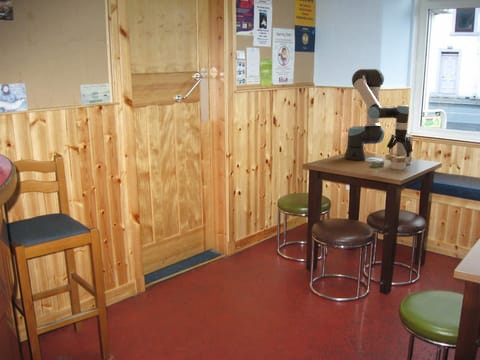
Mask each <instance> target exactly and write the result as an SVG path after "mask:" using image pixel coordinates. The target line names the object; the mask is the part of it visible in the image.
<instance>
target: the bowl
mask: <svg viewBox="0 0 480 360" xmlns="http://www.w3.org/2000/svg"><path fill="white" fill-rule="evenodd" d="M406 166H407V165H406V162H401V163H398V162H394V161H390V166H389V167H390V169H393V170H396V169H397V171H399V170H402V171H403V170H406Z"/></svg>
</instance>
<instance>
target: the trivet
mask: <svg viewBox="0 0 480 360" xmlns="http://www.w3.org/2000/svg"><path fill="white" fill-rule="evenodd" d="M370 167H373V168H376V169H379V168H384V167H385V162H384V161H381V160H378V159H377V160H371V163H370Z"/></svg>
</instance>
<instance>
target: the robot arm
mask: <svg viewBox="0 0 480 360" xmlns="http://www.w3.org/2000/svg"><path fill="white" fill-rule="evenodd" d="M384 81H385V77H384V72H383V71H382V70H380V69H376V68H365V69H364V68H361V69H358V70H356V71H355V72H354V73H353V75H352V77H351V83H352V86H353V88H354V90H357V92H358V93H359V95H360V97H361V98H362V101H363V102H364V103H365V105H366V123H365V124H364V126H363V125H358V126H357V125H356V126H351V127H349V128H348V130H347V146H346V149H345V152H344V156H343V158H344V159H346V160H350V161H364V160H365V159H366V155H365V150H364V149H365V148H364V146H365V145H366V144H367V145H372V144H374V145H376V144H381V143H382V142H383V140H384V137H385V130H384V128H383V127H382V125H381V124H380V119H396V120H395V129H394V134H391V137H390V139H389V141H388V143H387V144H386V147H387V148H388V149H389V150H388V153H389V154H388V155H390V154H394V147H395V145H396V146H397V142H399V143H402V144H403V146H404V148H405V150H406V152H405V161H404V162H408V158H409V155H410V152H411V153H412V152H413V151H414V150H413V146H412V147H411V143H410V137H406V135H408V126H409V125H408V124H409V123H408V122H409V116H410V115H409V114H410V106H409V105H406V104H404V105H403V104H399V105H397V106H391V105H389V106H381V105H380V103H379V94H380V93H379V90H380V89H381V87H382V85H383V84H384Z"/></svg>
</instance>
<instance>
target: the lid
mask: <svg viewBox="0 0 480 360" xmlns="http://www.w3.org/2000/svg"><path fill="white" fill-rule="evenodd" d="M384 159H385V160H387V161H389V162H391V161H394V162H398V163H401V162H404V161H405V155H403V154H396V153H393V154H390V155H389V154H386V155H385V158H384ZM412 160H413V157H412V155H411V156H409V158H408V161H411V162H412Z"/></svg>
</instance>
